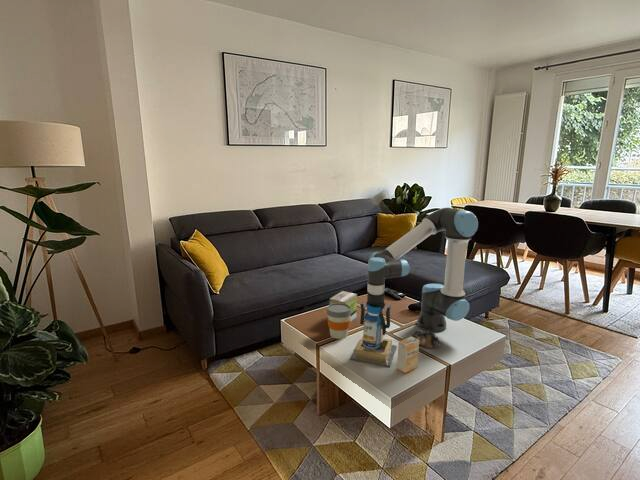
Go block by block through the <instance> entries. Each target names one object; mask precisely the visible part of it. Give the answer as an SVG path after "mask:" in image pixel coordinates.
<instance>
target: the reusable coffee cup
mask: <svg viewBox="0 0 640 480" xmlns="http://www.w3.org/2000/svg"><path fill="white" fill-rule="evenodd" d="M326 315H327V318H326V319H327V320H326V321H327V326H328V329H329V335H330V337H331V338H332V339H335V338H336V340H342V339H346V338H347V337H348V335H349V328H350V326H351V322H352V321H351V317H350V315H351V307H350V306H349V305H347V304H344V303H334V304H330V303H329V304H328V305H327V307H326ZM350 321H351V322H350Z"/></svg>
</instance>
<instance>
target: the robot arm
mask: <svg viewBox="0 0 640 480" xmlns="http://www.w3.org/2000/svg"><path fill="white" fill-rule="evenodd" d="M478 228H479V221H478V218H477V216H476V215H475V214H474V213H473V212H472V211H468V210H465V209H459V208H452V207H443V208H439V209H437V210H435V211H433V212H431V213H430V214H428V215H426V216H425V217H424V218H423V219H422V221H421V222H420V223H419V224H418V225H416V226H415V227H413V228H412V229H411V230H410V231H408V232H407V233H405V234H404V235H403V236H401V237H400V238H399V239H397V240H396V241H394V242H393V243H391V244H390V245H389V246H387V247H386V248H385V249H383V250H382V251H381V252H378V251H375V252H373V253H372V254H371V255H370V257H369V259H368V261H367V262H368V263H367V291H366V292H367V296H366V298H367V300H366V302H361V303H360V321H359V322H360V325H363V326H364V320H365V319H364V317H365V315H366V308H367V305H370V306H371V307H381V310H382V312H380V313H379V314H378V315H379V316H380V318H381V324H382V328H381V342H383V339H384V336H385V335H386V332H387V329H390V327H391V314H390V313H391V312H390V311H391V308H392V306H391V305H386V302H385V281H386V279H392V278H393V279H394V278H402V277H405V276H407V275H409V273H410V264H409V262H408V261H407V260H406V259H401V257H402V256H404V255H405V254H407V253H408V252H410V251H411V250H412V249H413V248H415V247H416V246H417V245H419V244H420V243H422V242H423V241H424V240H426V239H427V238H428V237H430V236H431V235H436V234H437V233H439V232H443V231H444V232H445V233H444V234H445V235H444V238H445V239H446V241H447V249H446V259H445V271H444V280H443V281H444V284H441V283H427V284H424V285H423V286H422V290H421V304H420V305H421V306H420V307H421V309H420V313H419V315H418V317H417V321H416V324H417V327H419V328H420V330H424V331H426V332H428V331H431V332H433V333H434V332H435V333H436V332H437V333H439V332H443V331H445V330H447V320H446V319H448V320H450V321H451V320H452V321H456V322H458V321H461V320H463V319H465V317H466V316H467V315H468V313H469V311H470V303H469V301H468V300H467V299H466V292H465V291H464V290H463V288H464V286H463V285H464V277H465V267H466V258H467V249H468V247H467V246H468V242H469V241H470V240H472V236H474V235H475V234H476V232H477V231H478ZM384 309H385V310H384ZM383 310H384V311H386V313H385V316H384V313H383Z"/></svg>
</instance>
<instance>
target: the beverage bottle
mask: <svg viewBox="0 0 640 480" xmlns="http://www.w3.org/2000/svg"><path fill="white" fill-rule="evenodd" d="M380 312H382V313H383V309H382V310H381V307H371V306H370V305H366V312H365V316H364V325H363V333H362V337H363V341H362V343H363V345H364V346H365V347H367V348H371V349H375V348H378V347H379V346H380V339H381V328H382V324H381V318H380V316H379V315H378V314H379V313H380Z"/></svg>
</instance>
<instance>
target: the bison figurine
mask: <svg viewBox="0 0 640 480" xmlns="http://www.w3.org/2000/svg"><path fill="white" fill-rule="evenodd" d="M411 337H414V338H416V339H418V340H419V346H420V345H421V346H423V347H425V348H427V349H434V348H438V347H439V346H440V345H441V344H442V343H441V342H440V340H439V338H438V336H436V335H435V333H434V332H432V331H422V329H417V330H415V331H413V333H412V335H411Z"/></svg>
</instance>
